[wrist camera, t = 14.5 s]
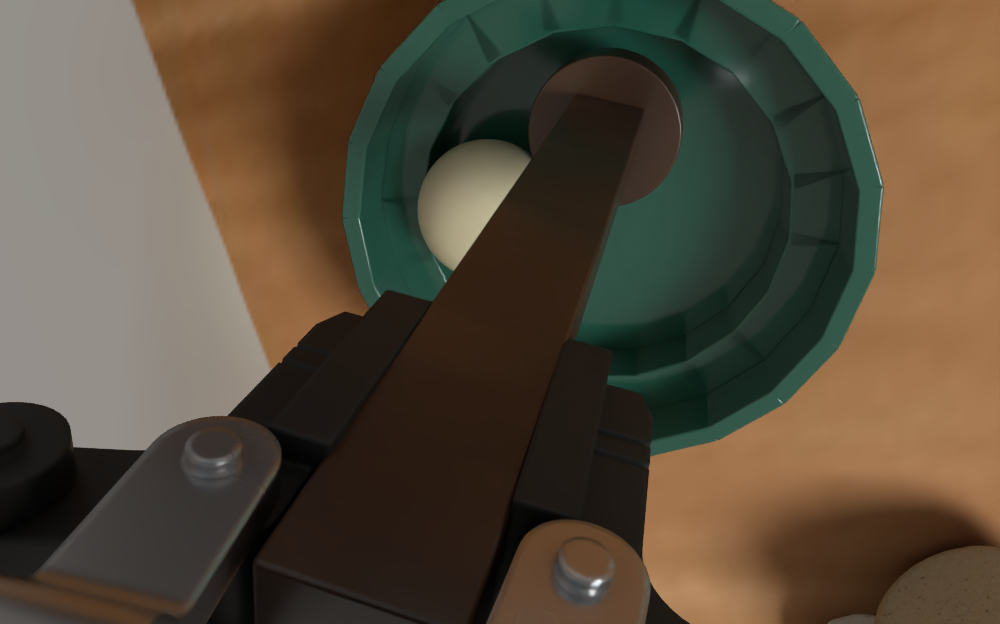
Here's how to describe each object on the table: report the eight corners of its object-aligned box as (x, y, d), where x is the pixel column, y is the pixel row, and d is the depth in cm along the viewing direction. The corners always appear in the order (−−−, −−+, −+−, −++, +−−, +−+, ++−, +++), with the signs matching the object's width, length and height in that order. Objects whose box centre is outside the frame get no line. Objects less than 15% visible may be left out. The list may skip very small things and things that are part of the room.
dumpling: (442, 215, 26) (383, 145, 23) (555, 168, 25) (512, 87, 22) (465, 320, 24) (403, 262, 21) (588, 273, 23) (547, 203, 20)
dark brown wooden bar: (525, 174, 23) (158, 714, 8) (551, 32, 21) (107, 416, 6) (660, 209, 23) (537, 857, 8) (703, 66, 20) (651, 591, 5)
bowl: (375, 326, 29) (328, 386, 26) (422, -99, 22) (366, -107, 18) (750, 430, 28) (762, 510, 24) (935, 8, 20) (995, 23, 17)
